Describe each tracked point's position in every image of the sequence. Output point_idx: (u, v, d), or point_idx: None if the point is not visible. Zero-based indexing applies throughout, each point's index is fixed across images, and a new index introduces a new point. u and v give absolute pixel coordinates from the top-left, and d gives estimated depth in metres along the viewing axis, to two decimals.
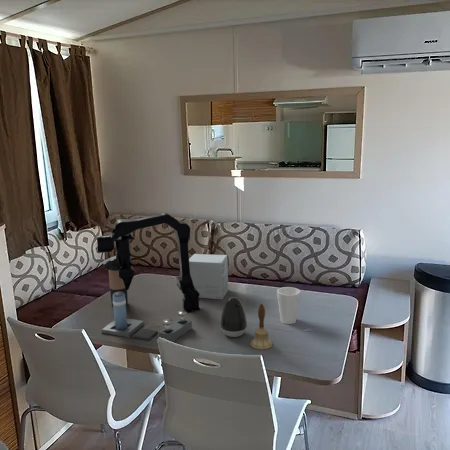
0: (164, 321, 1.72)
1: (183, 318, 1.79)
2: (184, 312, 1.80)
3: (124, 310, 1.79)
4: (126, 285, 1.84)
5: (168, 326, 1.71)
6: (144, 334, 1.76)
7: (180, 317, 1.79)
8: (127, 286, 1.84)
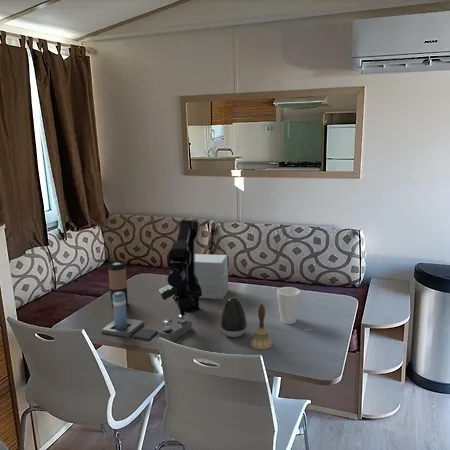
0: (164, 321, 1.72)
1: (183, 321, 1.79)
2: (184, 315, 1.80)
3: (124, 310, 1.79)
4: (182, 311, 1.79)
5: (168, 326, 1.71)
6: (144, 334, 1.76)
7: (180, 320, 1.79)
8: (183, 312, 1.79)
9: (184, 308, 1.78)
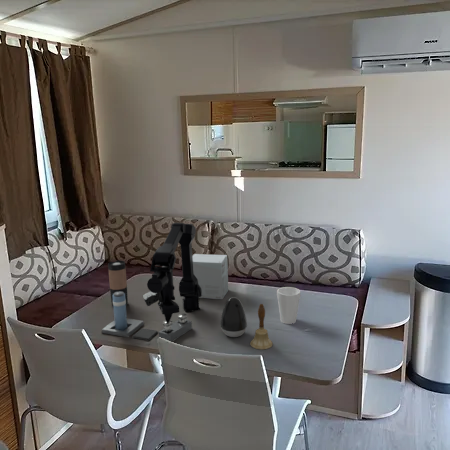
0: (164, 322, 1.72)
1: (183, 321, 1.79)
2: (184, 315, 1.80)
3: (124, 310, 1.79)
4: (167, 317, 1.71)
5: (168, 327, 1.71)
6: (144, 334, 1.76)
7: (180, 320, 1.79)
8: (168, 318, 1.71)
9: (169, 314, 1.71)
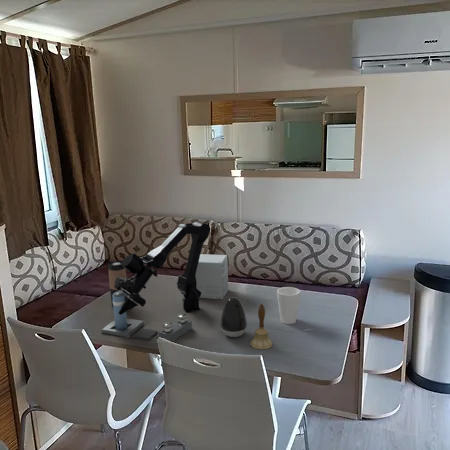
0: (164, 324, 1.72)
1: (183, 321, 1.79)
2: (184, 315, 1.80)
3: None
4: (123, 309, 1.77)
5: (168, 329, 1.72)
6: (144, 334, 1.76)
7: (180, 320, 1.79)
8: (123, 311, 1.77)
9: (127, 308, 1.78)
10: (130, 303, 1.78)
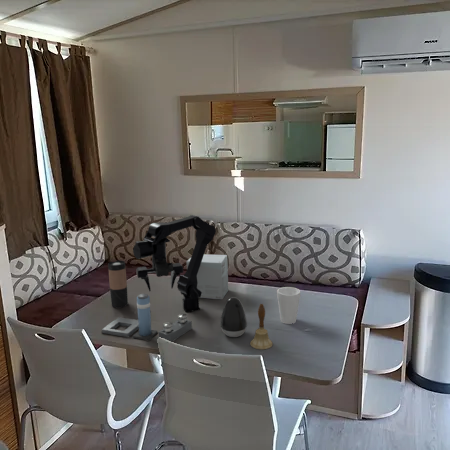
0: (164, 324, 1.72)
1: (183, 321, 1.79)
2: (184, 315, 1.80)
3: (149, 312, 1.75)
4: None
5: (168, 329, 1.72)
6: None
7: (180, 320, 1.79)
8: None
9: None
10: None
